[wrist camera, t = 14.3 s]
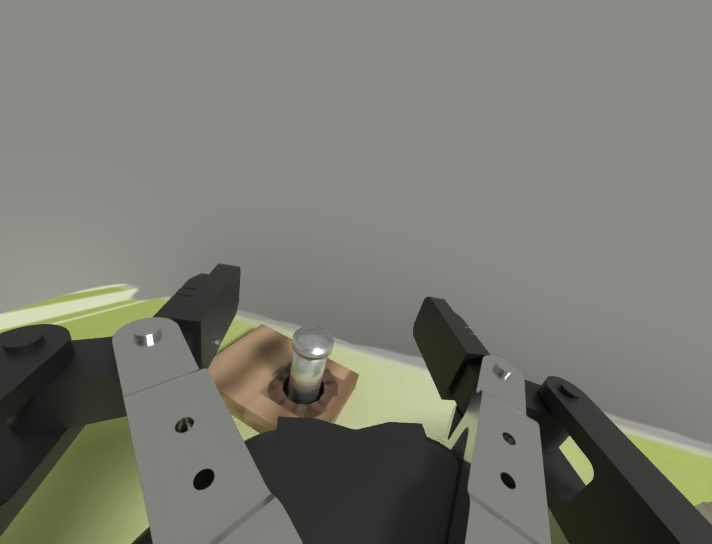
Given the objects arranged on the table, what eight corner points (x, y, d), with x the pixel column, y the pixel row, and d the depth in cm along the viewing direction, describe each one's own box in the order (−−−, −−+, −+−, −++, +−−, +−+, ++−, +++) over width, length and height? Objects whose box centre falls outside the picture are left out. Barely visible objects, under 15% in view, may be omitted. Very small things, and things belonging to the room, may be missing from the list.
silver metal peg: (274, 405, 38) (284, 341, 33) (297, 380, 43) (307, 321, 38) (306, 424, 37) (320, 360, 32) (325, 396, 41) (340, 337, 36)
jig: (191, 387, 38) (191, 372, 36) (261, 336, 50) (262, 324, 48) (309, 466, 32) (313, 451, 31) (354, 387, 44) (359, 374, 43)
